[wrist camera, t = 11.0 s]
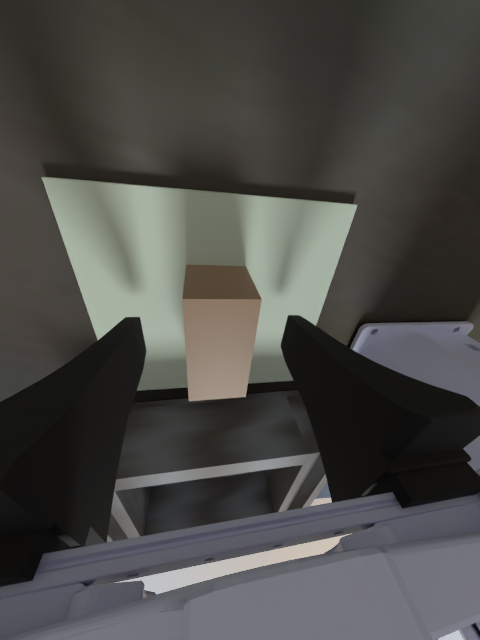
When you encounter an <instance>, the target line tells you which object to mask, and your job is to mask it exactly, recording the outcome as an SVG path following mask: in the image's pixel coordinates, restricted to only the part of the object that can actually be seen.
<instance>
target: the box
mask: <svg viewBox="0 0 480 640" xmlns="http://www.w3.org/2000/svg"><path fill="white" fill-rule="evenodd" d="M326 483H327V478H326V474H325V470H324V466H323V463H322V459H321V456H320V452H319V448H318V445H317V442H316V438H315V435H314V432H313V429H312V425H311V422H310V419H309V416H308V413H307V411H306V408H305V405H304V403H303V400H302V398H301V396H300V393H299V391H298V390H292V391H279V392H266V393H252V394H246V397H239V398H226V399H213V400H200V401H189V398H186V399H173V400H160V401H146V402H133V404H132V407H131V410H130V413H129V417H128V421H127V425H126V430H125V435H124V440H123V444H122V450H121V455H120V460H119V466H118V471H117V477H116V483H115V489H114V495H113V502H112V509H111V516H110V522H109V529H108V537H107V542H112V541H118V540H124V539H129V538H135V537H141V536H146V535H152V534H158V533H163V532H169V531H175V530H180V529H186V528H192V527H197V526H203V525H209V524H214V523H220V522H225V521H231V520H237V519H242V518H248V517H254V516H259V515H265V514H271V513H276V512H282V511H288V510H293V509H299V508H305V507H309V506H310V505H311V503H312V502H313V501H314V499H315V498H316V497H317V495H318V494H319V492H320V491H321V490H322V488H323V487H324V486H325V484H326Z"/></svg>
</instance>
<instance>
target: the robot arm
mask: <svg viewBox="0 0 480 640" xmlns="http://www.w3.org/2000/svg"><path fill="white" fill-rule="evenodd" d="M472 328H473V324H472V323H470V322H467V321H462V322H411V323H367V324H364V325H362V326H361V327H360V328H359V330H358V332H357V334H356V336H355V338H354V340H353V342H352V344H351V346H350V348H349V347H347V346H345V345H344V344H342V343H340V342H339V341H337V340H336V339H334V338H333V337H331V336H330V335H328V334H327V333H325V332H324V331H322V330H321V329H319V328H318V327H317V326H315V325H314V324H312V323H311V322H309V321H308V320H306V319H305V318H303V317H301V316H300V315H288V317H287V321H286V325H285V329H284V333H283V337H282V341H281V345H280V346H281V349H282V353H283V356H284V360H285V363H286V365H287V367H288V369H289V372H290V374H291V376H292V378H293V380H294V383H295V385H296V387H297V389H298V391H299V393H300V396H301V398H302V400H303V403H304V405H305V408H306V411H307V413H308V416H309V419H310V422H311V425H312V429H313V432H314V435H315V438H316V442H317V445H318V448H319V452H320V456H321V459H322V463H323V466H324V470H325V474H326V478H327V482H328V486H329V491H330V495H331V499H332V503H327V504H322V505H316V506H310V507H305V508H299V509H293V510H288V511H282V512H276V513H271V514H265V515H259V516H254V517H248V518H242V519H237V520H231V521H225V522H220V523H214V524H209V525H203V526H197V527H192V528H186V529H180V530H175V531H169V532H163V533H158V534H152V535H146V536H141V537H135V538H129V539H124V540H118V541H112V542H107V537H108V529H109V522H110V516H111V509H112V502H113V495H114V489H115V483H116V477H117V471H118V466H119V460H120V455H121V450H122V444H123V440H124V435H125V430H126V425H127V421H128V417H129V413H130V410H131V407H132V404H133V401H134V398H135V394H136V391H137V388H138V385H139V382H140V379H141V375H142V372H143V368H144V363H145V357H146V345H145V340H144V335H143V330H142V325H141V320H140V317H125V318H124V319H123V320H121V321H120V322H119V323H118V324H117V325H116V326H114V327H113V328H112V329H111V330H110V331H109V332H107V333H106V334H105V335H104V336H103V337H101V338H100V339H99V340H98V341H97V342H95V343H94V344H93V345H91V346H90V347H89V348H87V349H86V350H85V351H83V352H82V353H81V354H79V355H78V356H77V357H75V358H74V359H73V360H71V361H70V362H68V363H67V364H65V365H64V366H62V367H61V368H59V369H58V370H56V371H55V372H53V373H51V374H50V375H48V376H47V377H45V378H43V379H42V380H40V381H38V382H36V383H34V384H33V385H31V386H29V387H27V388H25V389H24V390H22V391H20V392H18V393H16V394H15V395H13V396H11V397H9V398H7V399H5V400H3V401H1V402H0V640H438V638H440V637H443V636H445V635H447V634H450V633H452V632H455V631H457V630H459V632H460V633H461V635H462V637H463V639H464V640H480V343H478V342H477V341H475V340H473V339H472V338H470V337H469V336H467V335H468V333H469V332H470V331H471V330H472ZM350 533H353V534H351V535H348V536H345V537H342V538H341V539H340V541H339V543H338V544H337V545H336V546H335V547H334V548H332V549H331V550H329V551H327V552H326V553H324V554H321V555H316V556H310V557H305V558H300V559H295V560H290V561H285V562H281V563H277V564H272V565H267V566H263V567H258V568H254V569H250V570H246V571H242V572H238V573H234V574H230V575H226V576H222V577H218V578H214V579H211V580H207V581H203V582H200V583H196V584H192V585H189V586H185V587H182V588H178V589H175V590H171V591H168V592H164V593H161V594H157V595H156V594H155V593H154V592H149V591H145V590H144V583H143V582H142V581H133V582H122V583H115V582H119V581H124V580H129V579H134V578H139V577H143V576H148V575H153V574H158V573H163V572H168V571H172V570H177V569H182V568H187V567H192V566H196V565H201V564H206V563H211V562H216V561H221V560H225V559H230V558H235V557H240V556H244V555H249V554H254V553H259V552H264V551H269V550H273V549H278V548H283V547H288V546H292V545H297V544H303V543H307V542H312V541H316V540H322V539H327V538H331V537H336V536H341V535H346V534H350Z"/></svg>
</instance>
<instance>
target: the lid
mask: <svg viewBox="0 0 480 640" xmlns="http://www.w3.org/2000/svg"><path fill="white" fill-rule="evenodd" d="M42 180H43V183H44V186H45V189H46V191H47V194H48V197H49V200H50V203H51V206H52V209H53V212H54V215H55V218H56V220H57V223H58V226H59V229H60V232H61V235H62V238H63V241H64V244H65V247H66V249H67V252H68V255H69V258H70V261H71V264H72V267H73V270H74V273H75V276H76V278H77V281H78V284H79V287H80V290H81V293H82V296H83V299H84V302H85V305H86V307H87V310H88V313H89V316H90V319H91V322H92V325H93V328H94V331H95V334H96V336H97V339H98V340H99V339H100V338H101V337H103V336H104V335H105V334H106V333H107V332H109V331H110V330H111V329H112V328H113V327H114V326H116V325H117V324H118V323H119V322H120V321H121V320H123V319H124V318H125V317H140V320H141V325H142V330H143V335H144V340H145V345H146V357H145V363H144V368H143V372H142V375H141V379H140V382H139V385H138V388H137V391H141V390H157V389H172V388H187V387H188V398H189V401H200V400H213V399H226V398H239V397H246V392H247V386H248V383H264V382H279V381H294V380H293V378H292V376H291V374H290V372H289V369H288V367H287V365H286V363H285V360H284V356H283V353H282V349H281V346H280V345H281V341H282V337H283V333H284V329H285V325H286V321H287V317H288V315H300V316H301V317H303V318H305V319H306V320H308V321H309V322H311V323H312V324H314V325H315V326H316V324H317V321H318V318H319V315H320V313H321V310H322V307H323V304H324V301H325V298H326V295H327V292H328V289H329V286H330V284H331V281H332V278H333V275H334V272H335V269H336V266H337V263H338V260H339V257H340V255H341V252H342V249H343V246H344V243H345V240H346V237H347V234H348V231H349V228H350V226H351V223H352V220H353V217H354V214H355V211H356V208H357V205H355V204H348V203H337V202H326V201H315V200H303V199H292V198H281V197H269V196H258V195H247V194H236V193H224V192H213V191H202V190H191V189H179V188H168V187H157V186H146V185H134V184H123V183H112V182H100V181H89V180H78V179H67V178H55V177H42Z"/></svg>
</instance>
